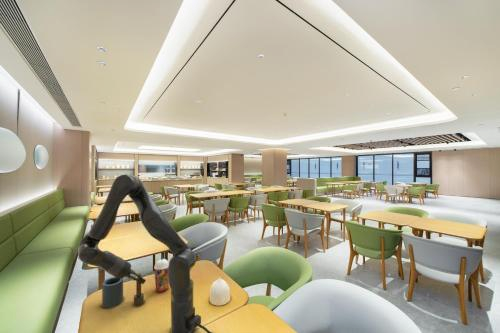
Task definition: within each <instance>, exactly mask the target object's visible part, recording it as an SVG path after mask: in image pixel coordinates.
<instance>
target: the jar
mask: <svg viewBox="0 0 500 333" xmlns="http://www.w3.org/2000/svg"><path fill="white" fill-rule="evenodd" d="M101 290H102V291H101V294H102V295H101V302H102V303H101V305H102V308H104V309H111V308H114V307H117V306H119V305H120V304H122V303H123V301H124V278H122V279H118V278H116V277H114V276H112V277H109V278H107V279H105V280H104V281H103V282H102V283H101Z"/></svg>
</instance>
